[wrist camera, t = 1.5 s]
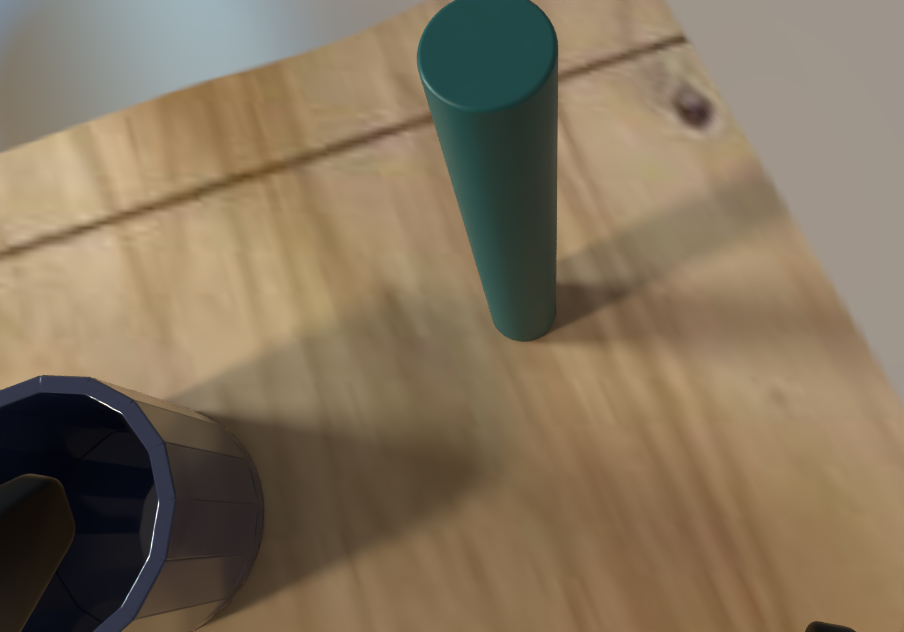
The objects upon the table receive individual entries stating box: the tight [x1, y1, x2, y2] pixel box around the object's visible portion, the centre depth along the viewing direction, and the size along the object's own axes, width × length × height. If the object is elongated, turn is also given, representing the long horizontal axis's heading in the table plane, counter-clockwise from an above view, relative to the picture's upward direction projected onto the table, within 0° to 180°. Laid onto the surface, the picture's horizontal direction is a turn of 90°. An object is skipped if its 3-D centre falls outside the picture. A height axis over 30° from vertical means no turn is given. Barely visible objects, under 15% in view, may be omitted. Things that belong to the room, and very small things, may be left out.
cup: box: [0, 375, 264, 632], centre depth 20 cm, size 7×7×6 cm
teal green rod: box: [417, 0, 558, 341], centre depth 16 cm, size 2×2×13 cm
